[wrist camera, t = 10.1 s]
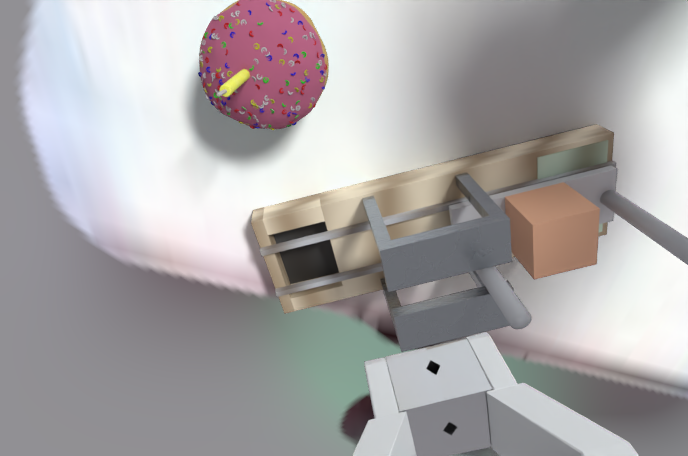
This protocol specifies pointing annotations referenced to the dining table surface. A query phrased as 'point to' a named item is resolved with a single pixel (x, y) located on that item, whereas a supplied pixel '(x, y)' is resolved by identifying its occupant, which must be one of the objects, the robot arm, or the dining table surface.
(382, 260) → the tunnel
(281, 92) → the cupcake
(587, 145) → the board
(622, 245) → the dining table surface
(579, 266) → the sled
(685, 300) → the dining table surface
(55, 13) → the dining table surface
